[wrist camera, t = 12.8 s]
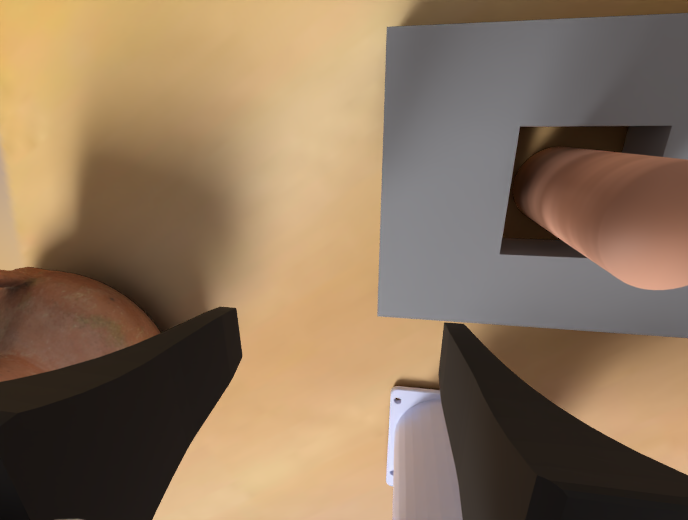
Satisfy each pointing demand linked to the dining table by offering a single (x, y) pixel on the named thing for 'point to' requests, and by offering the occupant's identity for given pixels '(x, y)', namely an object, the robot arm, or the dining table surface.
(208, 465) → the dining table surface
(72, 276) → the ceramic jug
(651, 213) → the terracotta peg
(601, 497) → the robot arm
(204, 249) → the dining table surface
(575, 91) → the grey flat holed block
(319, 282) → the dining table surface
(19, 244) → the dining table surface
